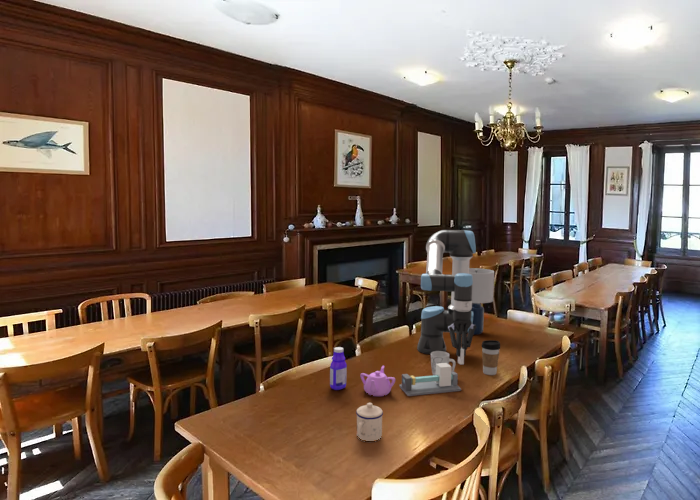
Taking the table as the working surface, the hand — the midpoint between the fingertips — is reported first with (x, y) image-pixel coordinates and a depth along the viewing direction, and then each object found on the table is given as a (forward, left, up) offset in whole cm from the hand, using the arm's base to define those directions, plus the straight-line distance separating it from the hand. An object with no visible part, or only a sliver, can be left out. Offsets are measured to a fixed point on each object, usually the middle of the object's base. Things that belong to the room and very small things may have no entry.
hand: (460, 363), depth 206 cm
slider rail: (0, -14, -10) cm, 17 cm away
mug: (-13, -2, -11) cm, 17 cm away
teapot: (-2, -37, -11) cm, 38 cm away
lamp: (-73, +47, -10) cm, 88 cm away
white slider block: (0, -8, -9) cm, 12 cm away
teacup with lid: (+34, -52, -10) cm, 63 cm away
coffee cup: (-11, +21, -10) cm, 26 cm away
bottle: (-10, -52, -10) cm, 54 cm away
